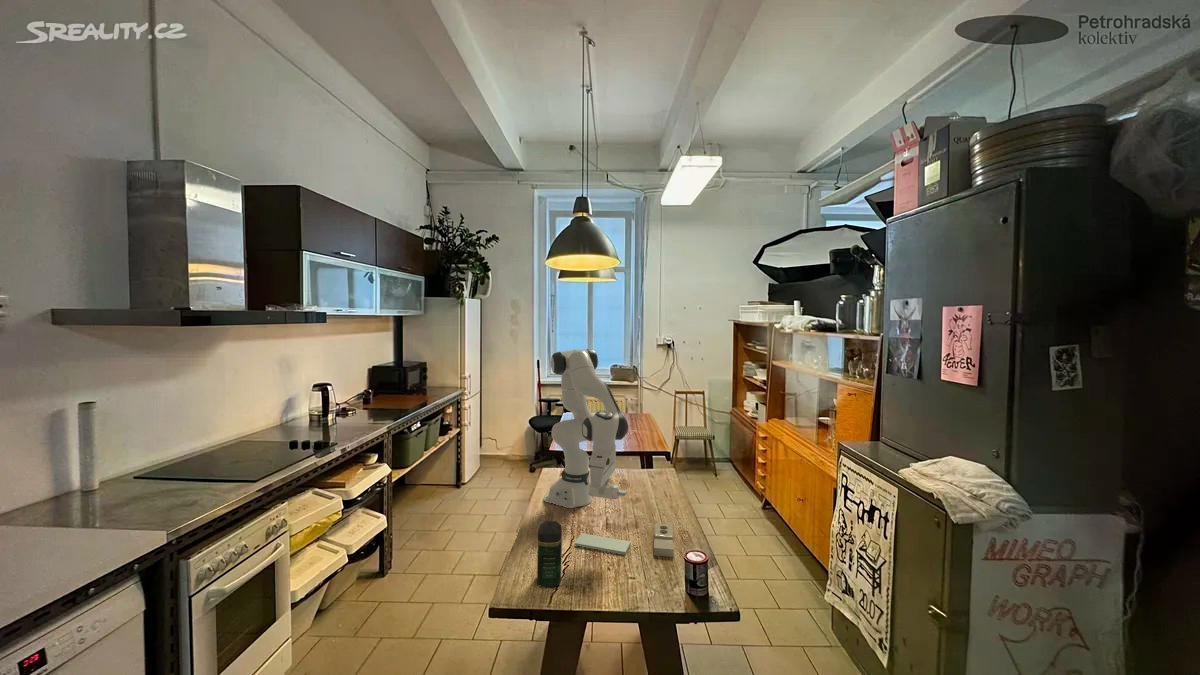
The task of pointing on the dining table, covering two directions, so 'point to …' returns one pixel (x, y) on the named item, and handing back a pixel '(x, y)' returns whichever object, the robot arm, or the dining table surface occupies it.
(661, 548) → the electrical outlet
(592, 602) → the dining table surface
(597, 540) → the sage board
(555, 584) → the coffee jar
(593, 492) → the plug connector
